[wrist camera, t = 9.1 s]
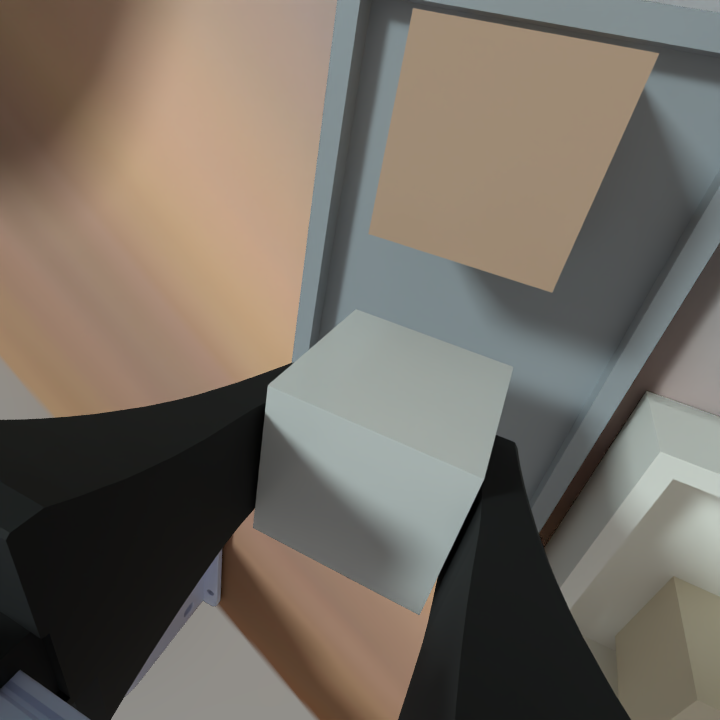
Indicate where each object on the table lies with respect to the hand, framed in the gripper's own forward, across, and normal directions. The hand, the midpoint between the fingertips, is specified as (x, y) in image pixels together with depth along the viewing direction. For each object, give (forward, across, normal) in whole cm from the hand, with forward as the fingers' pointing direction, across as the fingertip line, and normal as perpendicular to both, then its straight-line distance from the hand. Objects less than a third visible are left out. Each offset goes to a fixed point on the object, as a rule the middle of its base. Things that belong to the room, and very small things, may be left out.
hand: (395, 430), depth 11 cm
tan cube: (+5, 0, -6) cm, 8 cm away
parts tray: (+5, 0, 0) cm, 5 cm away
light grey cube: (+1, 0, 0) cm, 1 cm away
